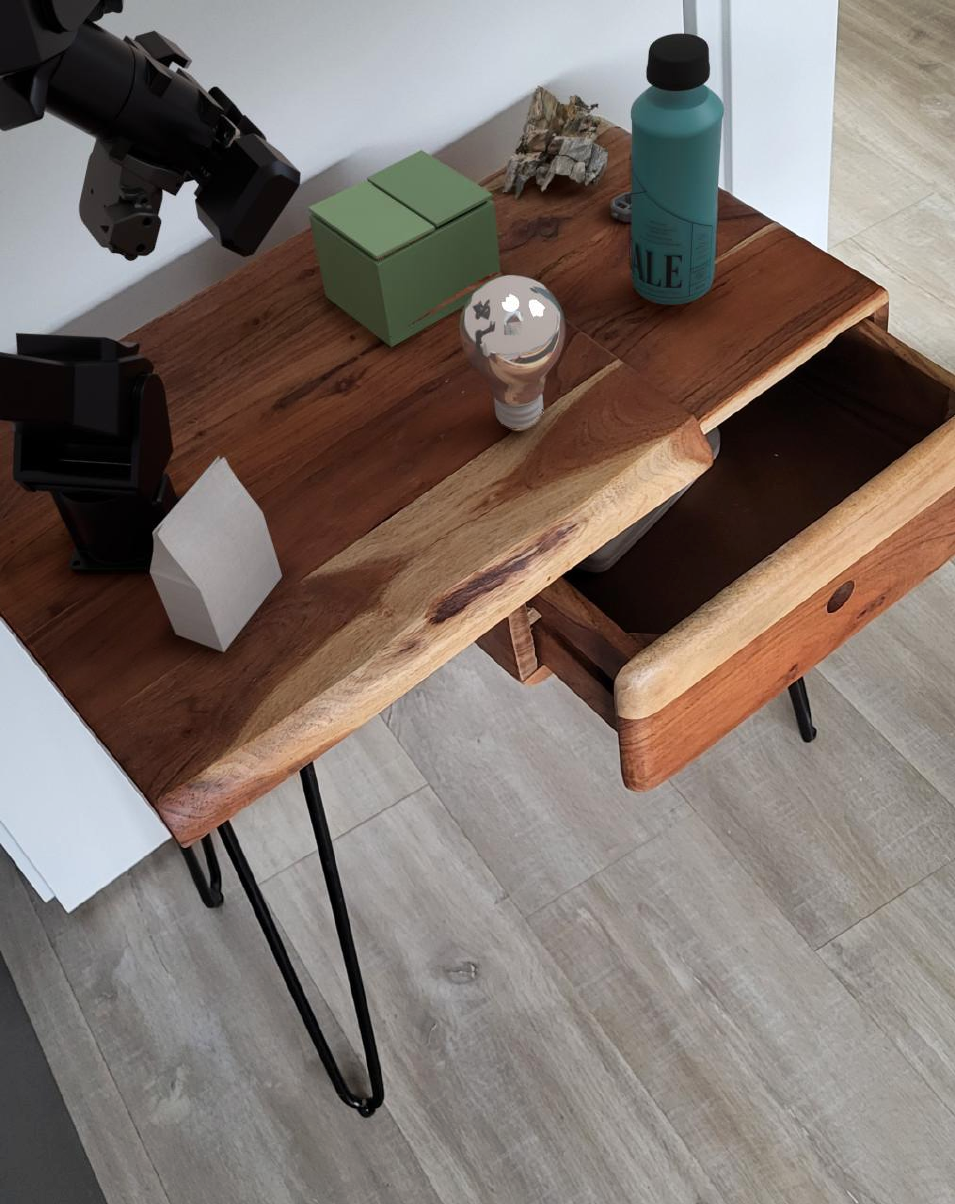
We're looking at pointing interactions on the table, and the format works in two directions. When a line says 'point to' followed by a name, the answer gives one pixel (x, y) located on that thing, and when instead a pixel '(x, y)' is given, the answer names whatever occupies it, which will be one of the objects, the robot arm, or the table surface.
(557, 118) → the rock
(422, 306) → the carton
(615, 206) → the key
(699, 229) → the beverage bottle
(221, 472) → the white milk carton
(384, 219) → the flap
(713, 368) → the table surface
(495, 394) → the light bulb
